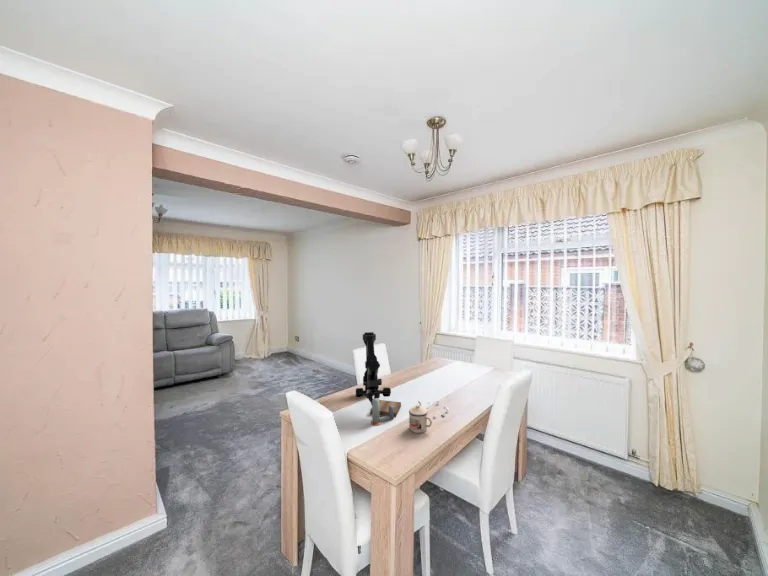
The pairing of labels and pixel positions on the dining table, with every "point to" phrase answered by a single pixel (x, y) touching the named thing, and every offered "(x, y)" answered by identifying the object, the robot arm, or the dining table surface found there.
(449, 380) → the dining table surface
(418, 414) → the teacup with lid
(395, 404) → the stool seat
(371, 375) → the robot arm
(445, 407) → the game piece set
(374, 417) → the grey u-shaped piece
